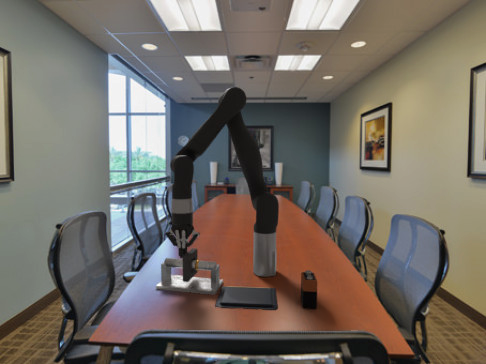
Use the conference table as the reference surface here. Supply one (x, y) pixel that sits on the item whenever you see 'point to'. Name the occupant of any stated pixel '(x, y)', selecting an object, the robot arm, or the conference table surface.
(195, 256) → the dark grey wedge plate
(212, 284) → the pipe stand
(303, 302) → the battery
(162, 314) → the conference table surface
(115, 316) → the conference table surface
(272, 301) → the wallet
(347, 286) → the conference table surface
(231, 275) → the conference table surface
